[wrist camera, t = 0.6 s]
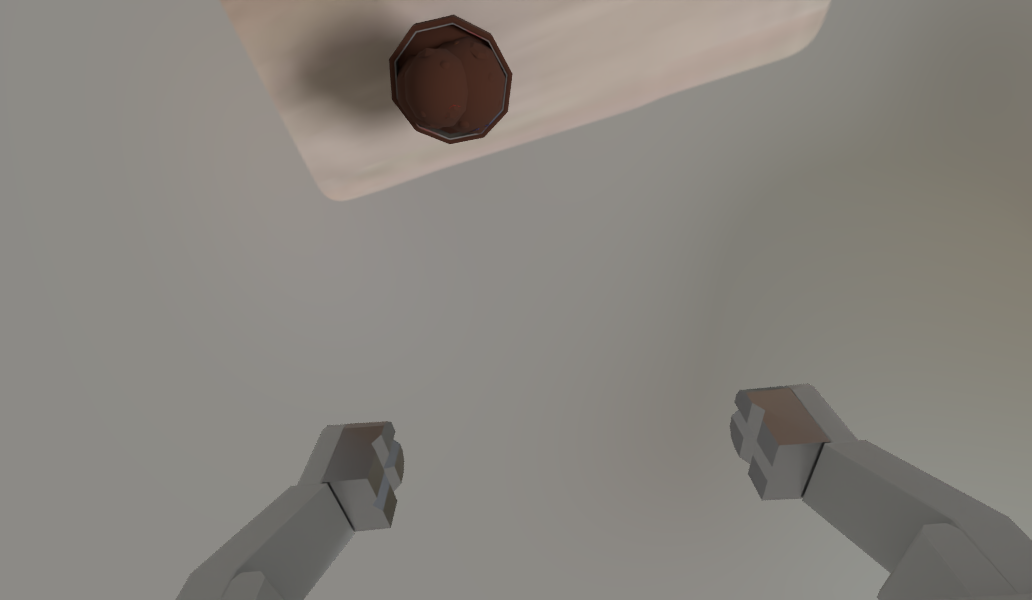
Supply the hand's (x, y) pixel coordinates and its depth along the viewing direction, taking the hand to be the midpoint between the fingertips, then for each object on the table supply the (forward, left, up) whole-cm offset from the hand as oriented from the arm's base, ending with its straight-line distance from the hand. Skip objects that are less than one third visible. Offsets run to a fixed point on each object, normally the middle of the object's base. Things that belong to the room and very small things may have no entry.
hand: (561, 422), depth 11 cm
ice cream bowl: (+9, -1, -46) cm, 47 cm away
